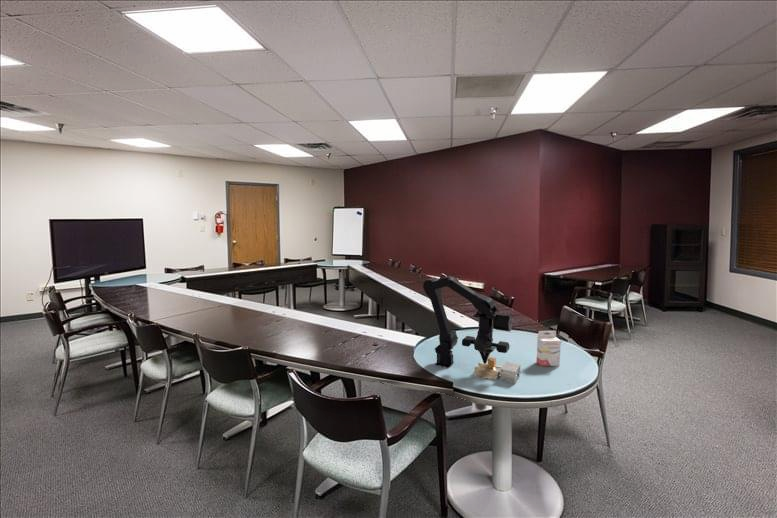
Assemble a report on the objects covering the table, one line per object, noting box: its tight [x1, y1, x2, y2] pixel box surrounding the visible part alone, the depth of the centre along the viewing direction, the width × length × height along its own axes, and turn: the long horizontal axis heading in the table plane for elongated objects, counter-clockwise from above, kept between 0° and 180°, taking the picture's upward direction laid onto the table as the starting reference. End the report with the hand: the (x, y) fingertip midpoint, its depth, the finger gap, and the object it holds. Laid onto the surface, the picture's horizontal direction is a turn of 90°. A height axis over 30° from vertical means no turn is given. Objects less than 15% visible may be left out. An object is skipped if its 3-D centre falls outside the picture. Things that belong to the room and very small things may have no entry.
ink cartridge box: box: [536, 330, 562, 367], centre depth 167 cm, size 9×5×15 cm, turn 92°
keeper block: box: [499, 361, 521, 385], centre depth 155 cm, size 6×8×5 cm
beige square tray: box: [472, 361, 502, 381], centre depth 160 cm, size 10×10×3 cm
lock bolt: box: [487, 356, 502, 375], centre depth 157 cm, size 8×3×5 cm, turn 59°
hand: (485, 363), depth 160 cm, fingers closed
